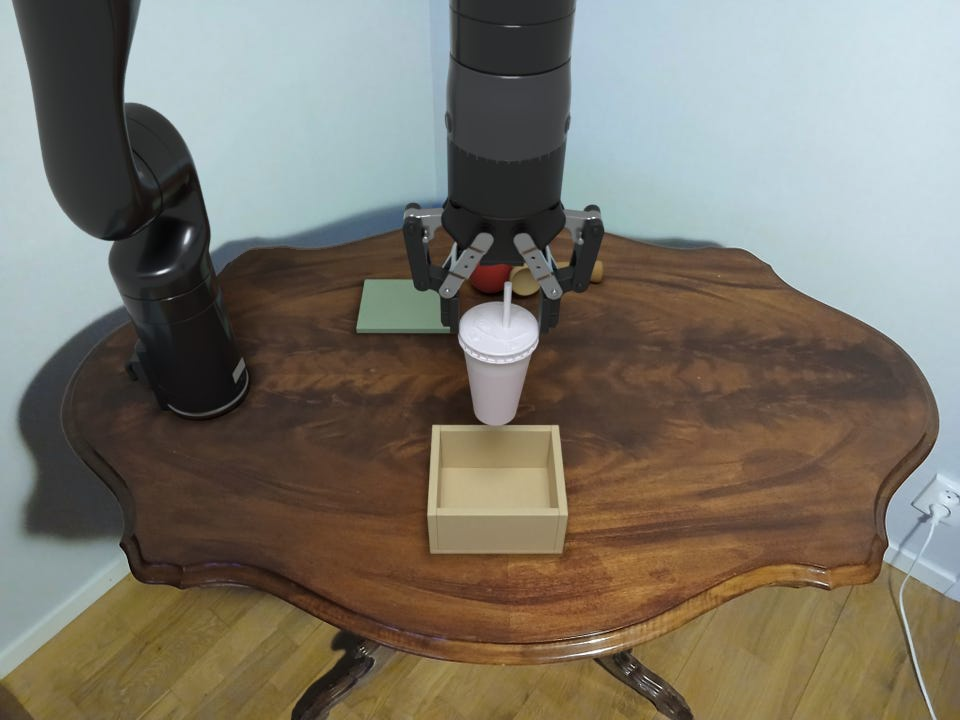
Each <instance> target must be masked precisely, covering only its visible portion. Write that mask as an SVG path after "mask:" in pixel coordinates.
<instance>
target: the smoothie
mask: <svg viewBox="0 0 960 720" xmlns="http://www.w3.org/2000/svg"><path fill="white" fill-rule="evenodd" d="M512 293H513V290H512V283H511V282H505V285H504V289H503V301H488V302H483V303H481V304H477V305H475V306H473V307H471V308H470V309H468V310H466V312H464V314H463V315H462V316H461V318H460V319H459V334H457V339H458V343H459V346H460V348H462V350H463V353H464V358H465V364H466V370H467V375H468V381H469V382H468V383H469V389H470V394H471V400H472V407H473V412H474V415H475V417H476V419H478V420H479V421H480V422H481V423H483V424H484V425H493V426H498V425H507V424H508V423H510V422H511V421H512V420H513V419H514V418H515V416H516V414H517V410H518V407H519V403H520V399H521V395H522V391H523V387H524V384H525V380H526V376H527V372H528V368H529V364H530V361H531V358H532V353H533V352H534V351H535V350H536V349H537V346H538V344H539V341H540V334H539V328H538V319H537V318H536V317H535V315H534V314H533V313H531V312H530V311H529V310H527V309H526V308H524V307H522V306H520V305H519V304H515V303H512Z"/></svg>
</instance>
